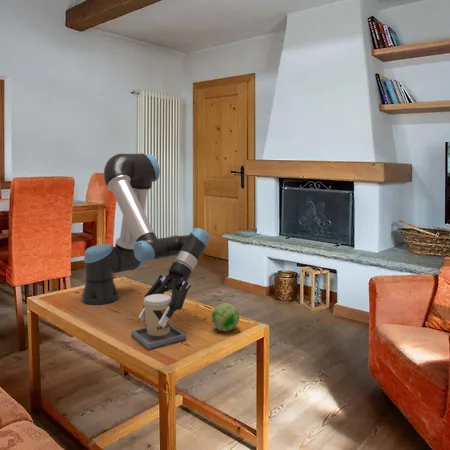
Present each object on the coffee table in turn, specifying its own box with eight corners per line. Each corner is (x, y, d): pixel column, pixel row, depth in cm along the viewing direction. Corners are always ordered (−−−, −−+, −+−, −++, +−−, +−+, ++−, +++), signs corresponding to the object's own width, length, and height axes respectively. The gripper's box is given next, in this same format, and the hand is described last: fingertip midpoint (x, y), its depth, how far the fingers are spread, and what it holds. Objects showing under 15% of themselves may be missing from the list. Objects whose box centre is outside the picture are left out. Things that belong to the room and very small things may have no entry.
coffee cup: (156, 339, 151) (155, 304, 149) (138, 332, 157) (137, 298, 155) (177, 331, 158) (177, 297, 156) (159, 324, 164) (159, 291, 162)
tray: (131, 336, 159) (131, 330, 159) (167, 327, 167) (167, 322, 167) (148, 350, 148) (148, 344, 148) (186, 340, 156) (186, 334, 155)
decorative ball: (222, 323, 171) (221, 297, 170) (244, 329, 166) (244, 302, 164) (206, 331, 163) (205, 304, 162) (229, 338, 158) (229, 310, 156)
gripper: (211, 277, 160) (180, 335, 150) (166, 268, 173) (135, 320, 163) (200, 265, 155) (168, 324, 145) (156, 256, 168) (123, 310, 158)
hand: (151, 322), depth 154 cm, fingers closed on coffee cup, 9 cm apart
